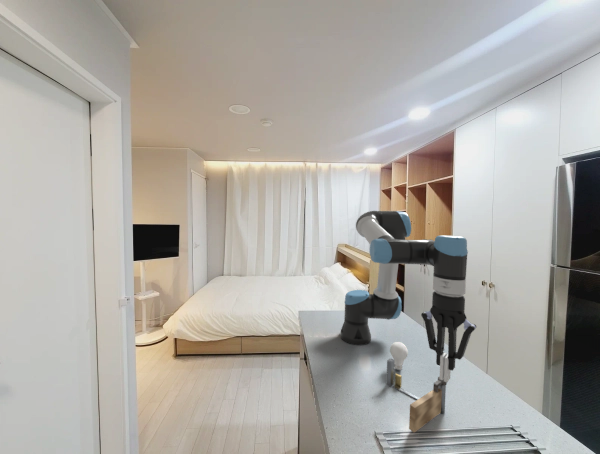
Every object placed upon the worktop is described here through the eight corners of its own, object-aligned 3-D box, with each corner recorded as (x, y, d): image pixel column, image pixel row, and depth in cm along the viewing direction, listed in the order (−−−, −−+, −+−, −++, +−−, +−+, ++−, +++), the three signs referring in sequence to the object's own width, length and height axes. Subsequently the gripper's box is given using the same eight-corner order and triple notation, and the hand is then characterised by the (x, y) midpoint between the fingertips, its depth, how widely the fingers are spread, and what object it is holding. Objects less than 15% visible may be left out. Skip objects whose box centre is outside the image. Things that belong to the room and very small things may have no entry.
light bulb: (406, 367, 101) (407, 340, 101) (407, 376, 95) (409, 348, 94) (389, 363, 103) (390, 337, 103) (389, 372, 97) (390, 345, 97)
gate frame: (386, 384, 90) (387, 360, 89) (390, 381, 92) (391, 357, 91) (443, 415, 76) (444, 386, 76) (446, 410, 78) (447, 382, 78)
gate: (415, 434, 68) (416, 399, 68) (407, 427, 70) (408, 394, 70) (447, 410, 77) (448, 379, 77) (439, 405, 79) (440, 375, 79)
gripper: (417, 289, 69) (414, 372, 70) (474, 302, 60) (470, 398, 60) (427, 285, 75) (424, 362, 75) (481, 296, 65) (477, 385, 65)
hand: (444, 378), depth 68 cm, fingers closed
